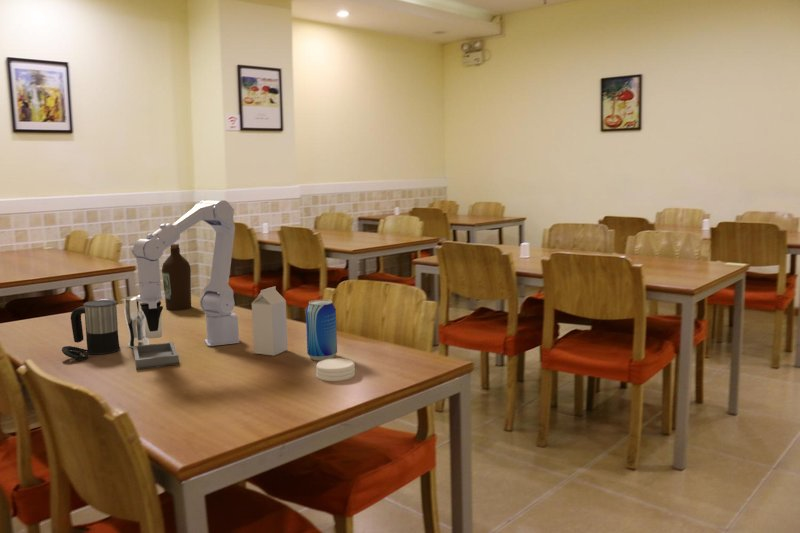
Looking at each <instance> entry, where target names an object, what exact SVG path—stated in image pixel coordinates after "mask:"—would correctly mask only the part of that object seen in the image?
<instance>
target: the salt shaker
mask: <svg viewBox="0 0 800 533" xmlns="http://www.w3.org/2000/svg"><path fill="white" fill-rule="evenodd" d="M162 320H163V318H162V313H161V314H160V318H159V326H158V331H151V332H150V331H149V328H148V324H147V320H146V317H145V332H146V338H148V339H159V338H162V337H163V321H162Z"/></svg>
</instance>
